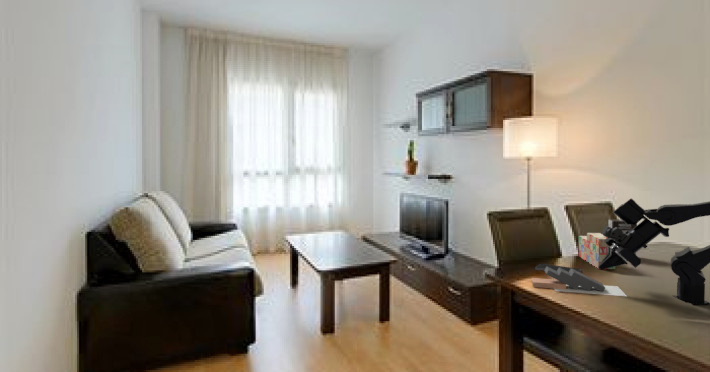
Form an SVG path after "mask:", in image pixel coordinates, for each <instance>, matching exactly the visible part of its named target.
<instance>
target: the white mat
mask: <svg viewBox="0 0 710 372" xmlns="http://www.w3.org/2000/svg"><path fill="white" fill-rule="evenodd" d="M603 286H604V287H605V289H604V291H603V292H602V291H600V290H598V289H596V288H594V287H592V288H591V290H590V291H589V290H587V289H585V288H583V287H581V286H578V288H577V289H574V288H572V287H570V286H568V285H566V289H555V288H553V290H554V292H562V293H577V294H590V295H605V296H616V297H617V296H618V297H627V294H625V292H624V291H623V290H622V289H621V288H620V287H619V286H617V285H605V284H603Z"/></svg>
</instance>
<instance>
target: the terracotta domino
mask: <svg viewBox="0 0 710 372" xmlns="http://www.w3.org/2000/svg"><path fill="white" fill-rule="evenodd" d="M531 285H532V288H533V287H534V288H543V289H546V288H547V289H554V288H555V289H566V284H564V283H562V282H560V281H559V280H557V279H555V278H539V277H538V278H536V277H531Z"/></svg>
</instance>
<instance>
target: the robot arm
mask: <svg viewBox="0 0 710 372" xmlns="http://www.w3.org/2000/svg"><path fill="white" fill-rule="evenodd" d="M612 214H614V215H615V216H617V217H618V218H619V220H622V221H623V222H625V223H626V224H627V225H629V224H631V225H635V224H636V223H637V226H636V227H635V228H633V229H632V230H631V231H628V230H626V231H625V232H622V230H621V229H619V228H617V227H615V228H614V229H613V228H611V227H609V226H608V225H606V224H605V225H604V227H603V229H602V230H601V232H600V233H601V234H603V236H605V237H608V238H606V239H605V240H604V242H605V243H606V244H607V245H608V246H607V254H606V256H605V257H604V259H603V260H602V262H601V263H600V265H599V266H598V268H599V269H598V270H602V271H603V270H606V268H610V267H614V266H616V267H618V266H624V265H628V263H629V264H630V265H631V266H632V267H634V268H637V267H639V266H640V265H641V263H642V260H641V258H640V257H639V256H638V255H637V252H639V251H640V250H641V249H646V248H648V244H649V243H650V242H652V241H653V240H654V239H655V238H657V237H658V236H659V235H660V234H661V235H662V237H666V238H669V237H670V232H669V231H670V228H669V227H668V226H675V225H678V224H682V223H685V222H688V221H691V220H692V219H696V218H701V217H707V216H708V217H709V216H710V201H705V202H704V201H703V202H698V203H693V204H691V203H689V204H687V203H686V204H681V203H680V204H678V203H677V204H663V205H660V206H659V207H658V208H651V209H650V208H648V209H644V208H643V207H641V206H640V204H638V202H636V201H635V200H634V199H633V198H630V199H628V200H627V201H626V202H624V203H623V204H621V205H619V206H618V207H617V208H615V210H613V212H612ZM642 219H643V220H642ZM641 220H642V221H641ZM651 220H654V221H651ZM640 221H641V222H640ZM662 225H663V226H667V227H663V226H662ZM635 253H636V254H635ZM669 264H670V269H671V272H672V273H674V275H676V276H677V283H676V295H672V297H673V298H675V299H677V300H679V301H682V302H683V303H686V304H691V305H710V301H707V300H705V298H706V297H705V296H706V294H705V293H706V283H705V282H706V277H705V275H704V272H703V269H704V268H705V267H707V266H708V265H709V264H710V244H708V245H706V246H704V247H701V248H698V249H694V250H692V249H691V247H690V246H688V247H685V248H684V249H682V250H681V251H676V252H674V255H673V256H672V257H671V258H670V263H669Z"/></svg>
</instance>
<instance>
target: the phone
mask: <svg viewBox="0 0 710 372" xmlns="http://www.w3.org/2000/svg"><path fill="white" fill-rule="evenodd" d="M546 266H547V267H549V268H551V269H553V270H555V271H557V270H558V268H559V267H560V268H562V269H563V270H565V271H567V272H569V271H570V269H571V268H572V269H574V270H576V271H578V272H580V273H582V269H580V268H576V267H568V266H562V265H555V264H549V263H539V264H538V265H536V266H535V267H534V268H535V269H534V270H537V271H545V268H546Z"/></svg>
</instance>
